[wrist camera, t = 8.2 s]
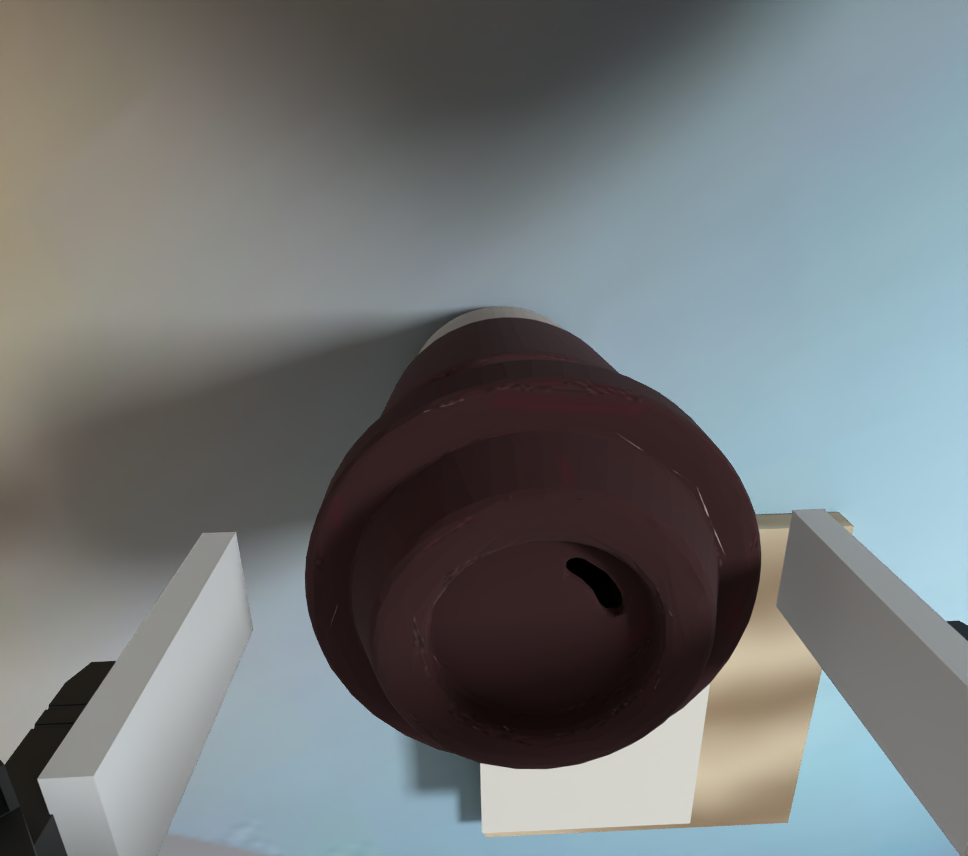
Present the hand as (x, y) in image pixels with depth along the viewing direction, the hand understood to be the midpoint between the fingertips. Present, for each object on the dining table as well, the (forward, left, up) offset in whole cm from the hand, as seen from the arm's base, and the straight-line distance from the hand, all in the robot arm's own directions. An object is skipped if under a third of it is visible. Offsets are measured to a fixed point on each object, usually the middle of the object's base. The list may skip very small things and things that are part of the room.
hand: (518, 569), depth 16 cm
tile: (+16, +9, -10) cm, 21 cm away
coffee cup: (0, 0, -12) cm, 12 cm away
